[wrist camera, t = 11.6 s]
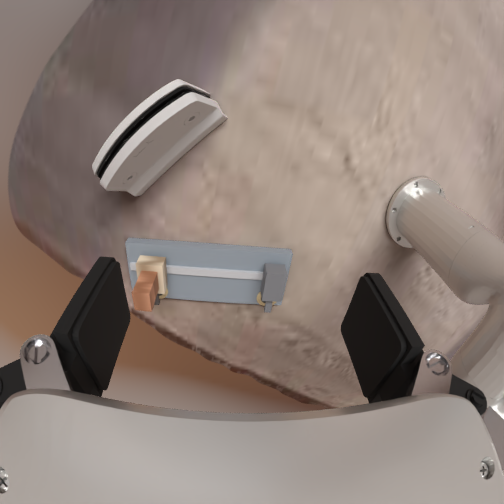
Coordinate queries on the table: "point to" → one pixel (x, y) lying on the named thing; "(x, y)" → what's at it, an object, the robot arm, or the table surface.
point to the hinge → (156, 137)
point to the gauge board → (217, 271)
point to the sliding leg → (149, 282)
